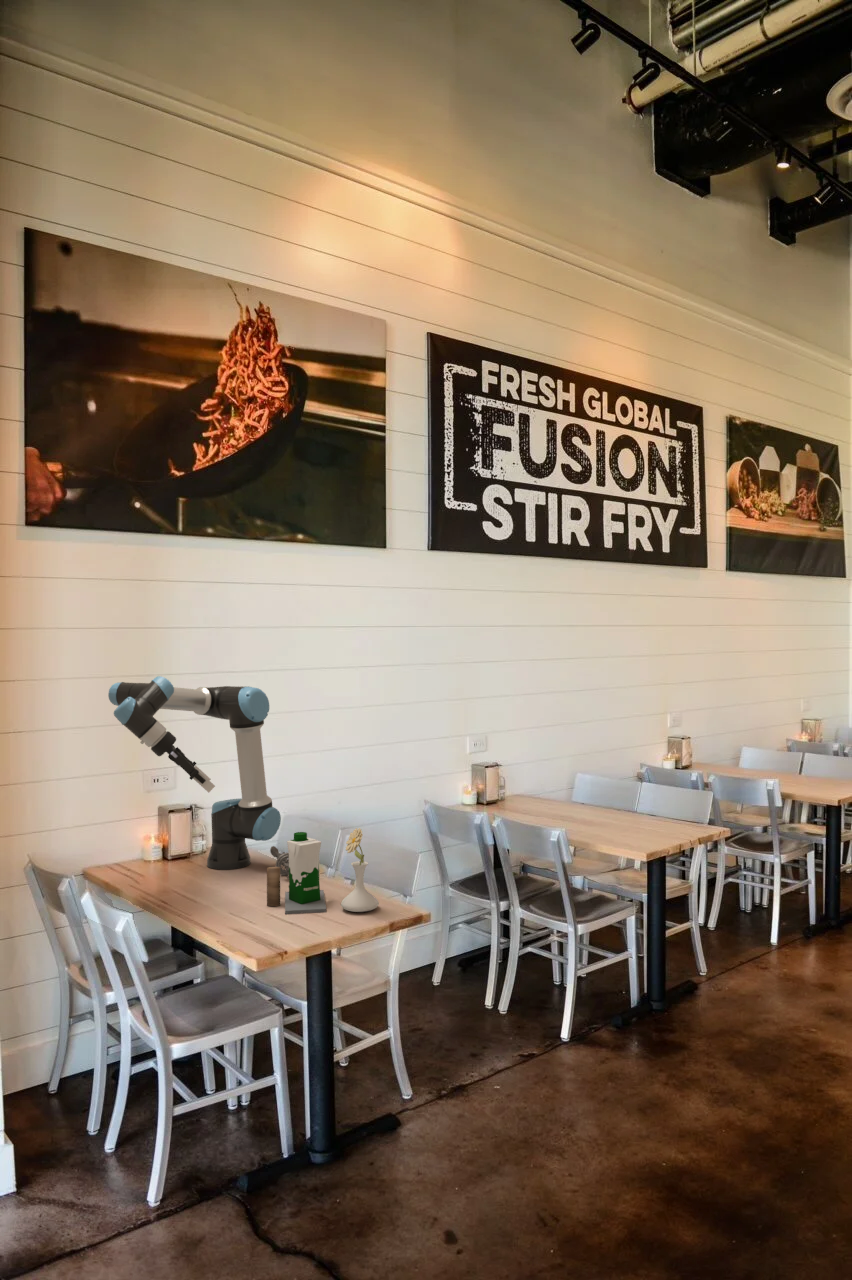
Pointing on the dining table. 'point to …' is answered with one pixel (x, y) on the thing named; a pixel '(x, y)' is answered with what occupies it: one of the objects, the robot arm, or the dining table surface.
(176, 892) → the dining table surface
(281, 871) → the spaceship
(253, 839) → the robot arm
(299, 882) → the soya milk
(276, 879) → the wooden pepper mill
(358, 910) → the flower in vase
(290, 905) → the slate mat
